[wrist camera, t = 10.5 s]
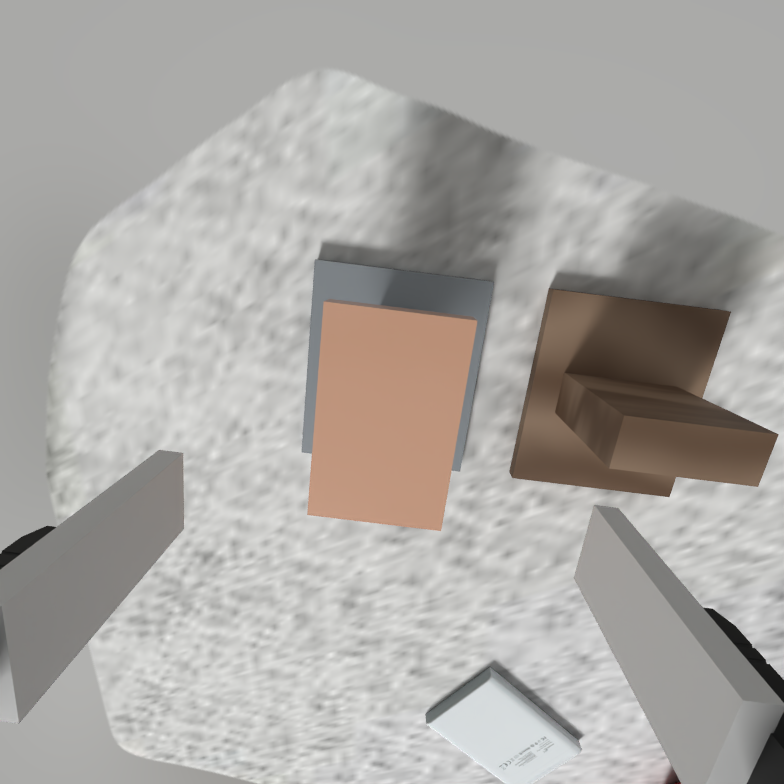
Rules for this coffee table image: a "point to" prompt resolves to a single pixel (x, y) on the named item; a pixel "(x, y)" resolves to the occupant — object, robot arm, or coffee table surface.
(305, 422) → the slate stand
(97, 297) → the coffee table surface
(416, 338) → the terracotta tile
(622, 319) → the walnut stand
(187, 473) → the coffee table surface
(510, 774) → the external hard drive
